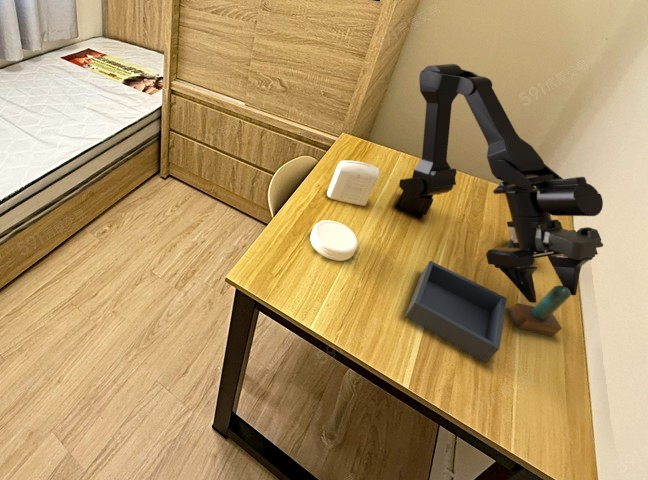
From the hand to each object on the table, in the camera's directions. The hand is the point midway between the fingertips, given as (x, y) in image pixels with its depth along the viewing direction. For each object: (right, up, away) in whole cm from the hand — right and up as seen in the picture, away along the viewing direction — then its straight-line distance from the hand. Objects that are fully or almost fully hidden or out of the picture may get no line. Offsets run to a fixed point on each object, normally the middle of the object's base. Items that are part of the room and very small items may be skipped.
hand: (552, 298), depth 76 cm
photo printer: (-22, +13, +34) cm, 43 cm away
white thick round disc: (-33, +4, +21) cm, 39 cm away
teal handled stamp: (0, -7, +5) cm, 8 cm away
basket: (-15, -6, +6) cm, 17 cm away
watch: (+11, +2, +19) cm, 22 cm away
